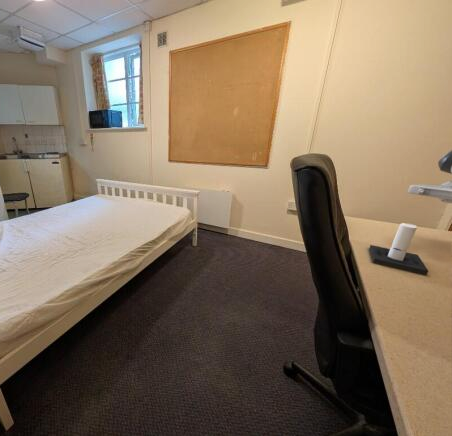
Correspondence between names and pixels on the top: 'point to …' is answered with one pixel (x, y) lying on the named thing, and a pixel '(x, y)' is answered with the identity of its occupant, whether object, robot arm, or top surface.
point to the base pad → (408, 263)
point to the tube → (402, 241)
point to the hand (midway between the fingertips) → (437, 195)
